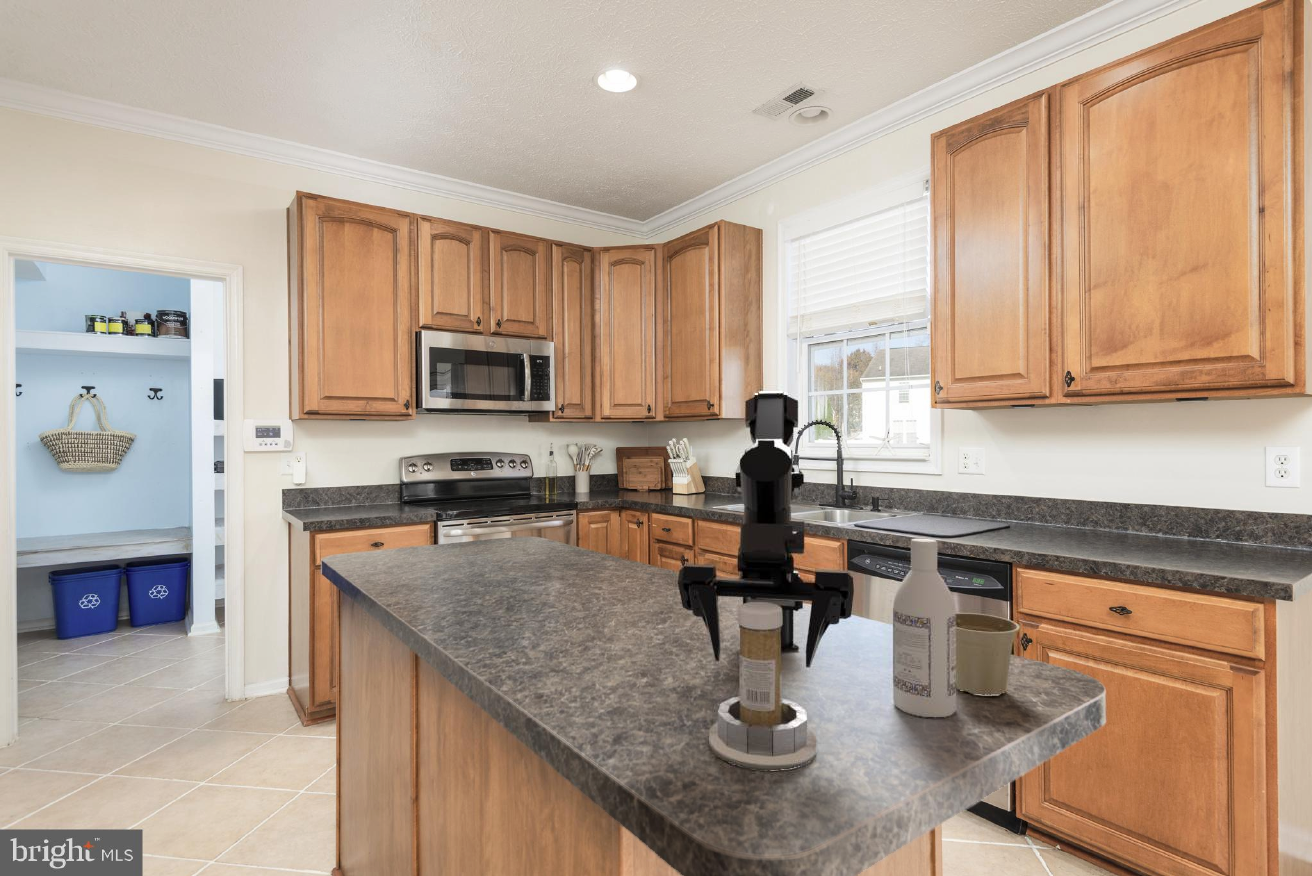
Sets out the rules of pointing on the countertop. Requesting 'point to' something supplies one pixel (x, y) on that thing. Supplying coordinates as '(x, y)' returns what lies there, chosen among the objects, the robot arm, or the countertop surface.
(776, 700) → the sprinkles bottle
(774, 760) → the socket
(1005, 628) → the flower pot
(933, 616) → the bath foam
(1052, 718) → the countertop surface
